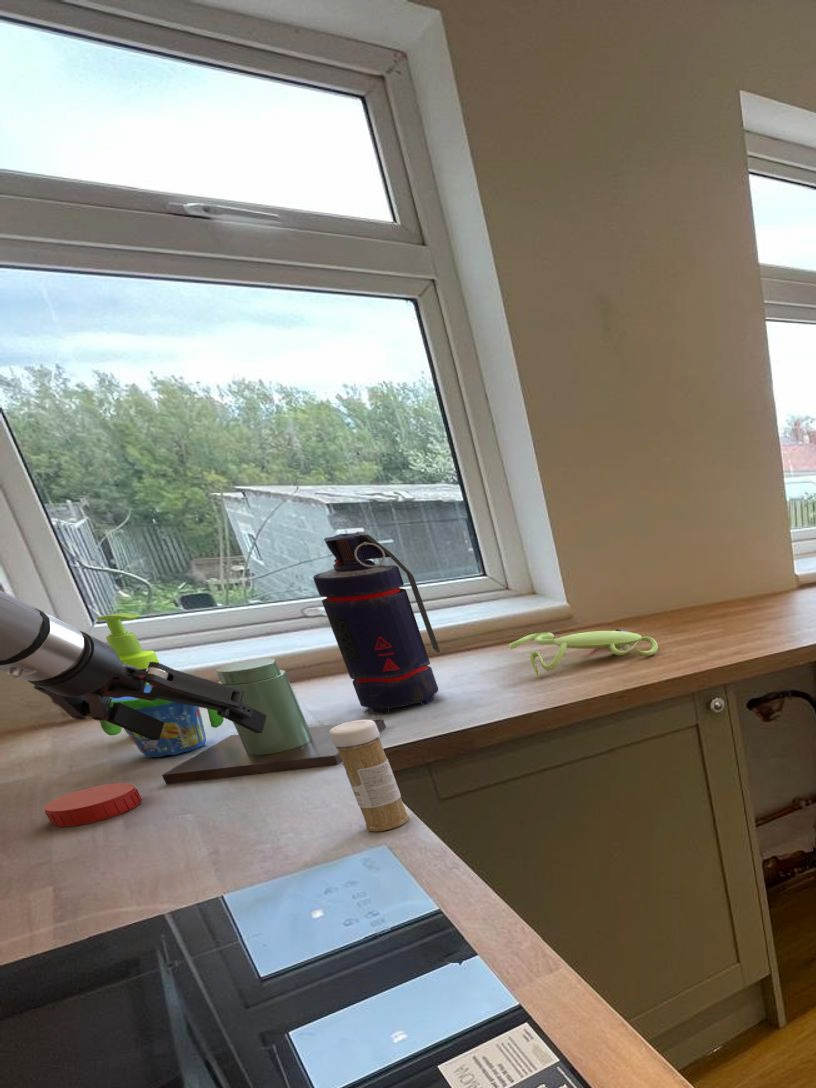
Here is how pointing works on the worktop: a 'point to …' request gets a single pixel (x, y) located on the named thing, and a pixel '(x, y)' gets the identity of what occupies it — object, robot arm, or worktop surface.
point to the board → (258, 758)
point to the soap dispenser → (127, 641)
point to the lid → (92, 804)
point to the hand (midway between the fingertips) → (210, 728)
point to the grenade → (376, 624)
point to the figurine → (587, 644)
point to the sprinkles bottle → (369, 774)
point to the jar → (267, 706)
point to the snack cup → (166, 725)
